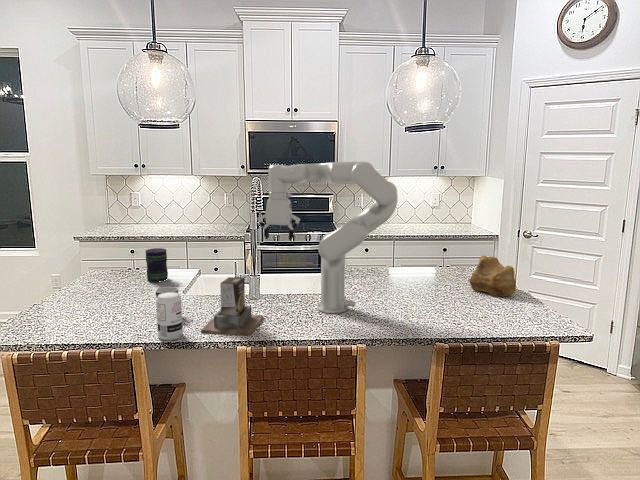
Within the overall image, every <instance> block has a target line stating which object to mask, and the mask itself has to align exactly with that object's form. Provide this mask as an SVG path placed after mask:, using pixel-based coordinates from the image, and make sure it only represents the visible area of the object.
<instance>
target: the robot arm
mask: <svg viewBox="0 0 640 480" xmlns="http://www.w3.org/2000/svg"><path fill="white" fill-rule="evenodd" d="M303 183H325V184H328V185H358V187H359V188H360V189H361V190H362V191H363V192H365V193H366V194H367V195H368V196H369V197H370V198H371V199H372V200H374V202H373V203H372V204H371V205H370V206H368V207H367V208H365V209H364V210H362V211H361V212H359V213H358V214H357V215H355V216H353V217H351V218H349V219H348V220H346V221H345V223H344V224H343V225H341V226H340V227H339V228H337V229H335V230H334V231H330V232H327V233H326V234H324V236H323V237H322V239H321V240H320V242H319V244H318V248H317V249H318V254H319V256H320V258H321V259H320V260H321V261H320V263H321V264H320V266H321V267H320V303H318V304H317V305H316V308H317V310H318V311H319V312H321V313H325V314H340V313H345V312H346V311H348V309H349V307H356V301H353V300H352V299H346V296H345V282H346V281H345V280H346V277H345V273H346V254H348V253H349V252H351V251H352V250H354V249H355V248H357V247H359V246H360V245H361V244H362V243H364V241H365V240H366V238H367V236H368V235H369V234H370V233H372V232H373V231H375V230H377V229H378V228H379V227H380V226H382V225H383V224H385V223H386V222H387V221H388V220H389V219H390V218H391V217H392V216H393V214H394V213H395V210H396V208H397V206H398V205H397V204H398V188H397V187H396V185H395V183H393V182H391V181H388V180H387V179H386V178H385V177H384V176H382V175H381V174H380V173H379V172H378V171H377V170H376V169H375V167H374V166H373V164H371V163H370V162H368V161H332V162H330V161H329V162H325V163H297V164H293V165H285V164H271V165H269V167H268V199H267V201H266V206H265V207H266V209H265V213H264V214H262V215H260V216H258V217H257V218H256V219H257V221H258V223H259V225H260V226H261V227H262V229H263V230H264V231H263V234H264V235H263V236H264V237H265V240H269V238H270V228H269V226H287V227H288V228H289V230H288V240H289V241H291V240H293V238H294V235H295V234H294V230H295V228H296V227H297V226H298V225H299V224H300V221H301V218H300V217H298V216H296V215H295V214H293V211H292V202H291V199H289V198H292V197H293V194H292V193H289V185H290V184H291V185H301V184H303ZM263 219H265V222H264V221H263ZM293 220H294V221H295V222H294V224H292V221H293Z"/></svg>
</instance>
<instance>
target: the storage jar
mask: <svg viewBox="0 0 640 480" xmlns="http://www.w3.org/2000/svg"><path fill="white" fill-rule="evenodd" d="M167 261H168V254H167V249H166V248H161V247H160V248H159V247H158V248H155V247H154V248H150V249H149V248H148V249H146V250H145V262H146V278H147V282H148V281H150V282H149V283H151V282H158V283H160V282H159V281H164V280H166V279H167V278H168V277H169V276H168V275H169V272H168V265H167V264H168V263H167ZM168 279H169V278H168ZM164 282H165V281H164Z"/></svg>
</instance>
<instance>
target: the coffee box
mask: <svg viewBox="0 0 640 480" xmlns="http://www.w3.org/2000/svg"><path fill="white" fill-rule="evenodd" d="M219 288H220V310H221V315H222V316H240V315H241V314H242V313H243V312H244V311H245V306H246V298H245V297H246V295H245V293H246V292H245V288H246V286H245V277H230V276H228V277H227V278H226V279H224V280H223V281H222V282H220V287H219Z"/></svg>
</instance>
